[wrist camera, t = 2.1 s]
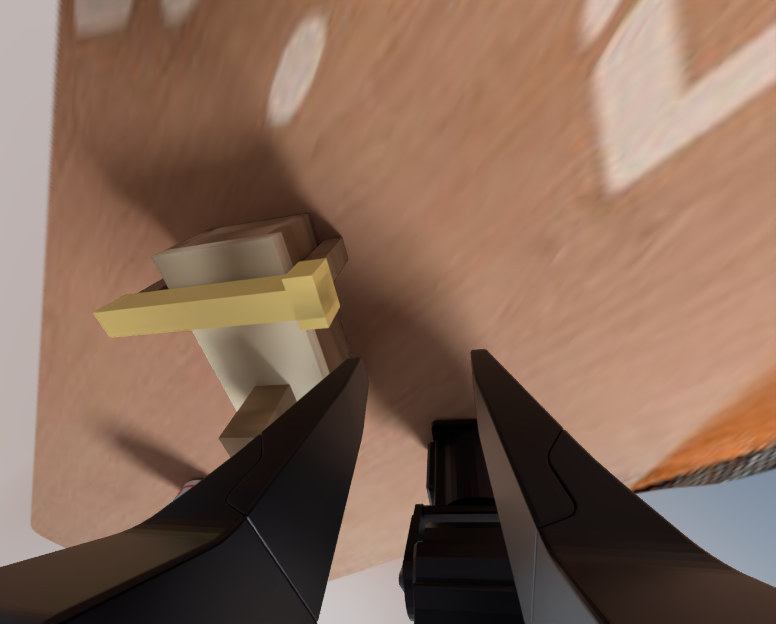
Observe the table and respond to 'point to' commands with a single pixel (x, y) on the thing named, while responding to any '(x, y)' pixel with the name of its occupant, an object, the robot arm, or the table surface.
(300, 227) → the toolbox
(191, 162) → the table surface
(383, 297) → the table surface
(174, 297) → the yellow long bar
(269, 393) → the lid
